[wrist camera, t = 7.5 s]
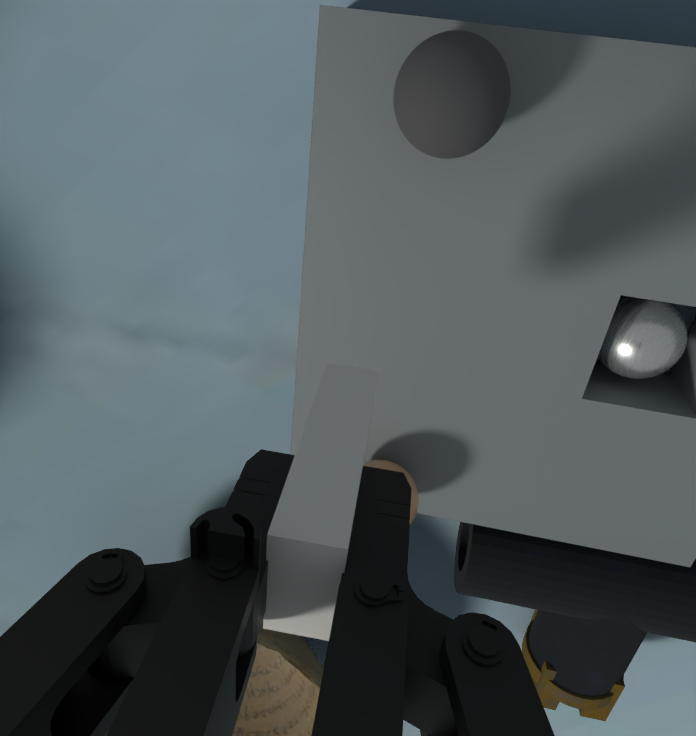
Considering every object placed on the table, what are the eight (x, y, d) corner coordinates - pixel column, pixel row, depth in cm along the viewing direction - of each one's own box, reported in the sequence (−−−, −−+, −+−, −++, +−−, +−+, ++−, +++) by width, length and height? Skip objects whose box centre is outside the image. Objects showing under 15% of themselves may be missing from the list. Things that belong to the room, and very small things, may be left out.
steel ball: (565, 362, 24) (639, 403, 21) (591, 288, 22) (674, 323, 20) (610, 347, 26) (683, 382, 23) (637, 277, 24) (718, 308, 22)
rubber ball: (391, 143, 19) (379, 158, 16) (407, 26, 17) (396, 20, 14) (492, 156, 19) (498, 175, 16) (518, 39, 17) (530, 35, 14)
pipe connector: (714, 757, 30) (432, 693, 31) (679, 664, 34) (435, 612, 36) (825, 614, 24) (475, 545, 25) (765, 526, 29) (472, 472, 30)
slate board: (305, 444, 30) (288, 487, 27) (340, 12, 20) (320, 4, 17) (665, 513, 29) (690, 567, 26) (898, 76, 19) (984, 79, 16)
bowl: (422, 651, 37) (414, 786, 30) (231, 709, 45) (190, 828, 38) (239, 459, 32) (179, 571, 25) (57, 563, 39) (-28, 670, 33)
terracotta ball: (344, 494, 27) (331, 547, 24) (352, 438, 25) (338, 488, 22) (414, 507, 27) (409, 563, 24) (426, 452, 25) (423, 504, 22)
